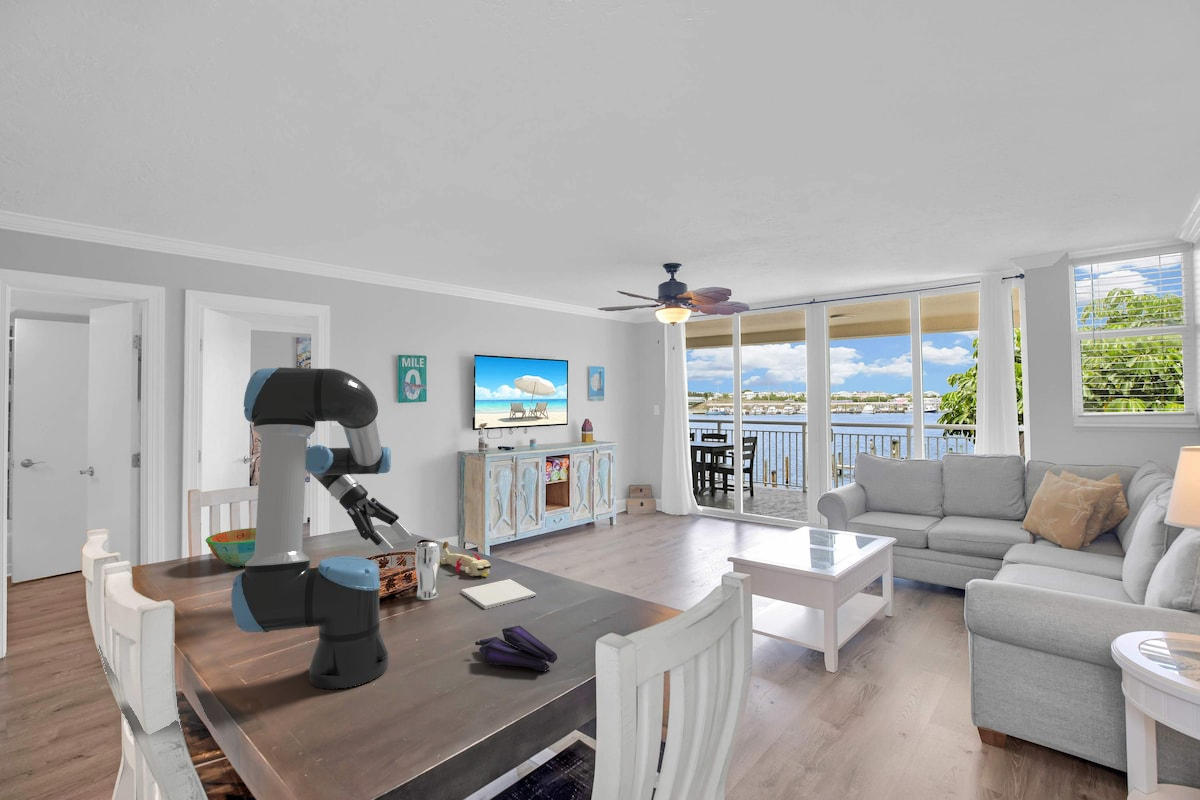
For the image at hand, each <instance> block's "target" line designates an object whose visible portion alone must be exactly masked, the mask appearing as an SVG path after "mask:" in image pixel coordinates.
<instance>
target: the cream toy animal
mask: <svg viewBox="0 0 1200 800" xmlns="http://www.w3.org/2000/svg"><path fill="white" fill-rule="evenodd" d="M448 547H449V541H443V543H442V550H443V551H444V553H445V555H444V557H442V556H441V555H440V565H445V564H446V565H455V566H454V570H455V571H456V573H458V574H463V573H462V572H461V566H463V567H464V571H465V574H468V576H471V577H474V576H475V577H476V576H477V577H479V576H481V577H488V576H489V575H488V574H490V573H491V571H490V569H491V567H492V566H491V563H490V562H489V561H488V560H487V559H482V558H481V557H480V556H479V555H478V554H477V553H474V552H473V553H472V555H474V556H473V557H471V556H470V555H466V554H461V553H451V551H450V550H449V548H448ZM475 557H476V558H475Z"/></svg>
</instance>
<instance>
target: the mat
mask: <svg viewBox="0 0 1200 800" xmlns="http://www.w3.org/2000/svg"><path fill="white" fill-rule="evenodd" d="M460 590H461V591H460V592H461V594H462V595H464V596H465V597H466V596H467V599H469V600H471V601H472V602H474V603H475V604H477V605H478V606H480V607H481V608H483V610H487V609H488V608H489V609H493V608H497V607H501V606H504V605H503V604H505V605H508V604H507V603H510V602H514V601H517V600H521V599H525V598H528V597H533V596H536V597H537V593H536V592H534V591H532V590H531V589H529V588H527V587H525V586H523V585H521V584H520V583H518V582H516V581H514V580H512V579H510V578H509V579H504V580H500V581H494V582H490V583H486V584H481V585H477V586H476V585H475V586H470V587H466V588H462V589H460ZM514 603H515V602H514ZM510 604H511V603H510ZM500 605H501V606H500ZM496 606H497V607H496ZM492 607H493V608H492Z"/></svg>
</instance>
